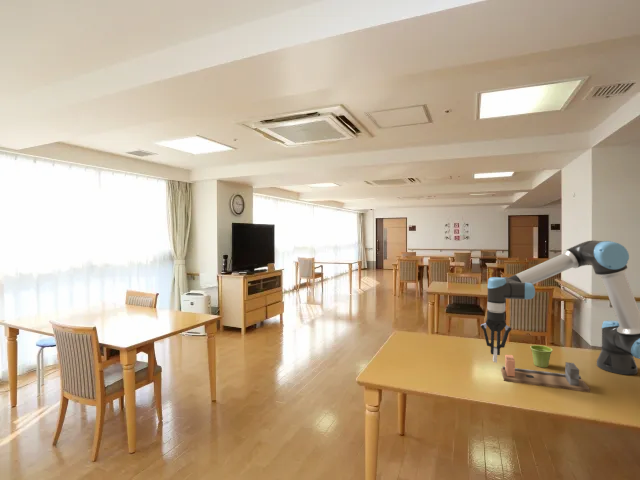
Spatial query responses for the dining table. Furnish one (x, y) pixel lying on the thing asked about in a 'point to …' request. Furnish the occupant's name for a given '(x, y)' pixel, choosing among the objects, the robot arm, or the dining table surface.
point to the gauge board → (549, 378)
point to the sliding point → (510, 365)
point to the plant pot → (541, 355)
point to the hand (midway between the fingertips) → (494, 361)
